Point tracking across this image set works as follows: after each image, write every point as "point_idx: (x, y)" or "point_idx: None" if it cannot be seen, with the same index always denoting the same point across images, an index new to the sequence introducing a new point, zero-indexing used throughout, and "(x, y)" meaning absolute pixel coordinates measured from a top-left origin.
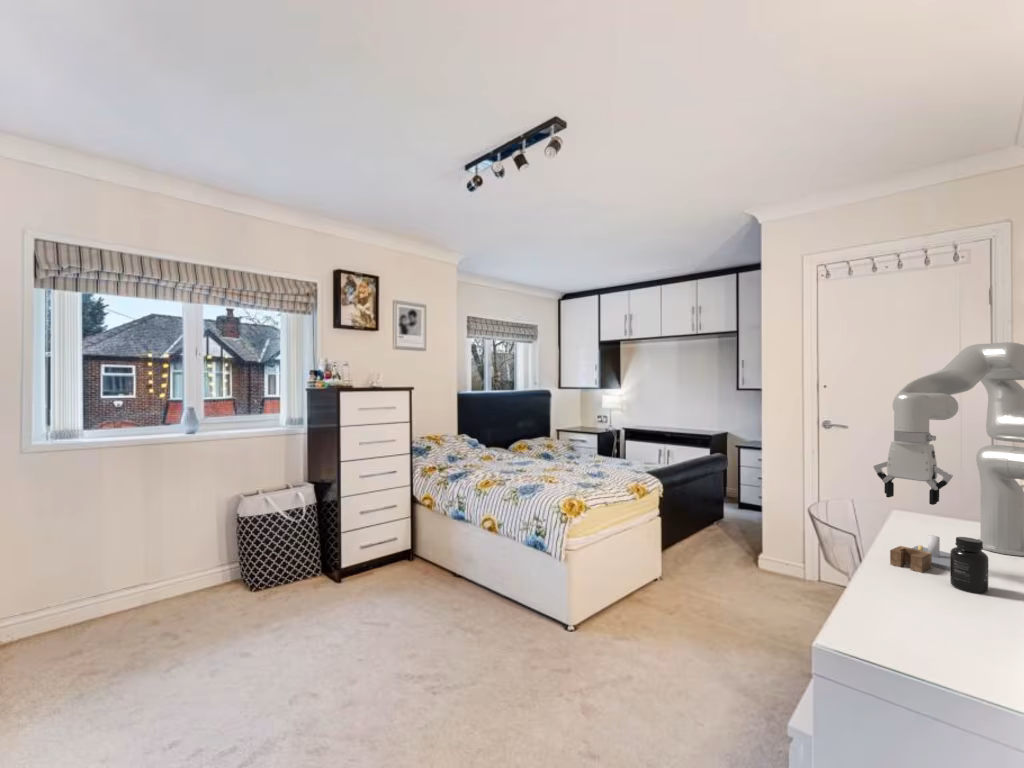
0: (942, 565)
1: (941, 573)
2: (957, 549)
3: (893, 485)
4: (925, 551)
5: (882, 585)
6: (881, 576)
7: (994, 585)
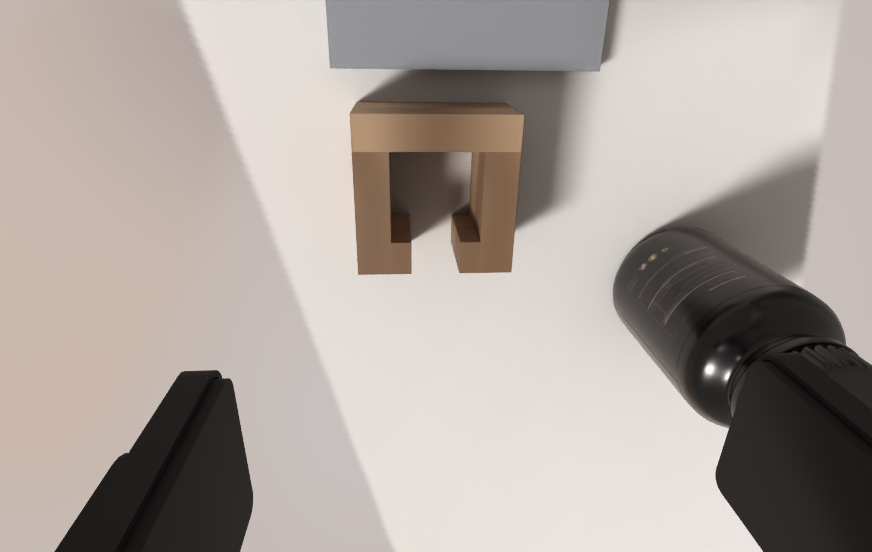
0: (553, 70)
1: (558, 165)
2: (727, 416)
3: (155, 547)
4: (491, 114)
5: (447, 497)
6: (409, 422)
7: (753, 139)
